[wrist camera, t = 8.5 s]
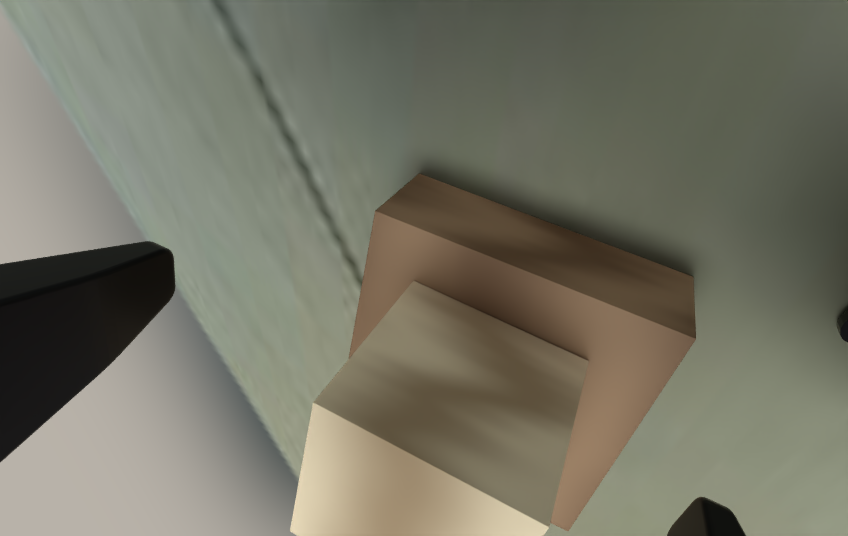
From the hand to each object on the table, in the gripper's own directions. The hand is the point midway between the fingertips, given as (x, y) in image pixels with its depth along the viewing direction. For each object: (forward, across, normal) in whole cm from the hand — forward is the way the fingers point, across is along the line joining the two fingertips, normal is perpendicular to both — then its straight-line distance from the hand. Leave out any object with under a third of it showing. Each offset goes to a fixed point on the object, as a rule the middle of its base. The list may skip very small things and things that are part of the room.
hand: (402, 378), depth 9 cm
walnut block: (+12, -1, +7) cm, 14 cm away
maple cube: (+8, 0, +7) cm, 11 cm away
